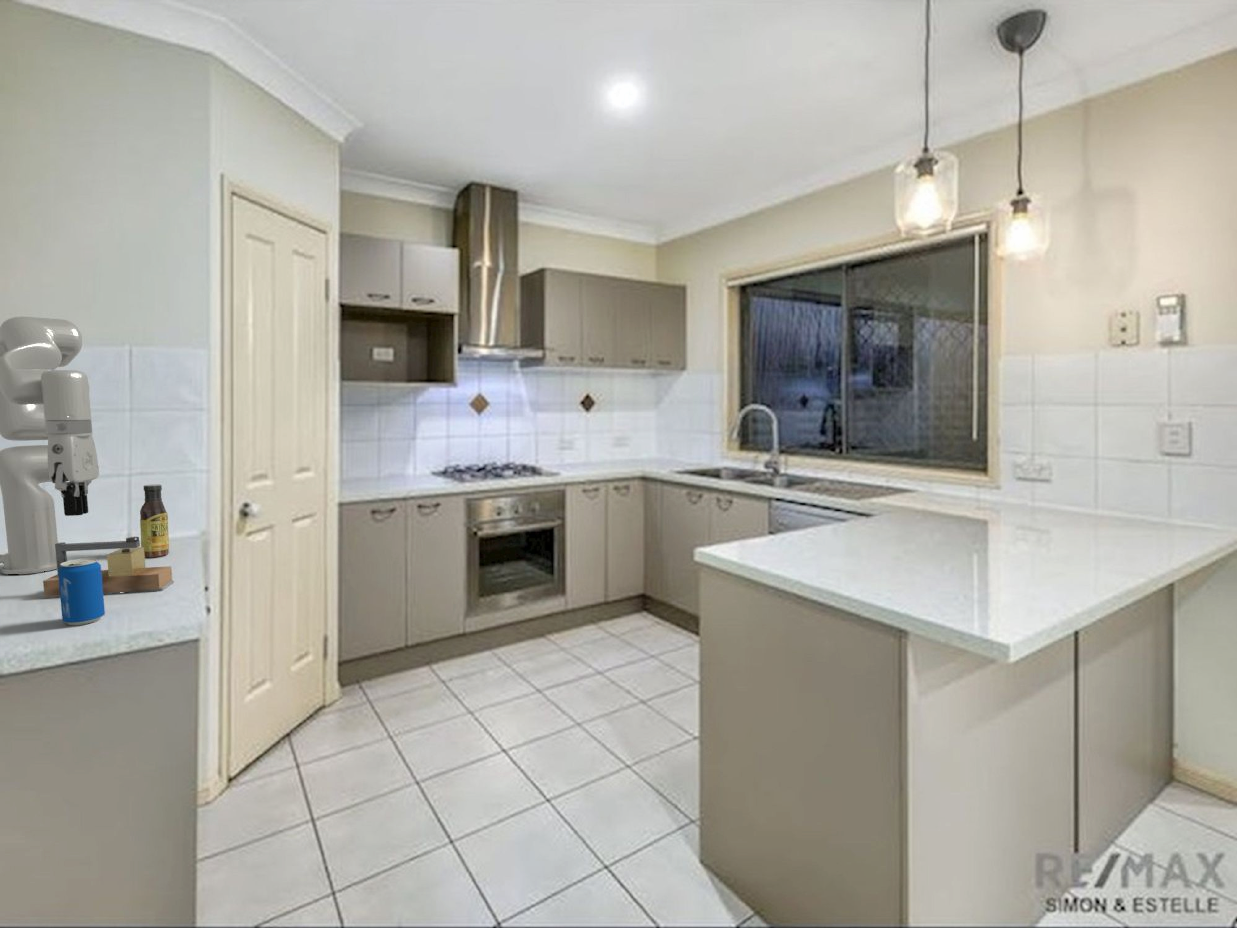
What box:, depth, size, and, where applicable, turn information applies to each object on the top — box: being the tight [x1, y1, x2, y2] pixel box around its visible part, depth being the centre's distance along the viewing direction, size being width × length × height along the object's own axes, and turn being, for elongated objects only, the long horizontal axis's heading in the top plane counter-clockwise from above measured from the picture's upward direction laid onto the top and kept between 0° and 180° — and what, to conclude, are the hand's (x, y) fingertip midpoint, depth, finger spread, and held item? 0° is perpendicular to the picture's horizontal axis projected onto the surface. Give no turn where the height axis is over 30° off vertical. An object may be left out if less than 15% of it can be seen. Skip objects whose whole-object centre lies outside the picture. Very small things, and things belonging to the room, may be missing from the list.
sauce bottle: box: [139, 483, 170, 559], centre depth 177 cm, size 7×6×20 cm
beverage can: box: [57, 557, 106, 626], centre depth 126 cm, size 6×6×12 cm
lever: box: [55, 536, 141, 574], centre depth 146 cm, size 16×2×8 cm, turn 105°
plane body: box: [42, 565, 175, 599], centre depth 147 cm, size 23×7×4 cm, turn 105°
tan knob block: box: [106, 546, 146, 577], centre depth 147 cm, size 5×6×5 cm
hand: (76, 514), depth 138 cm, fingers closed
